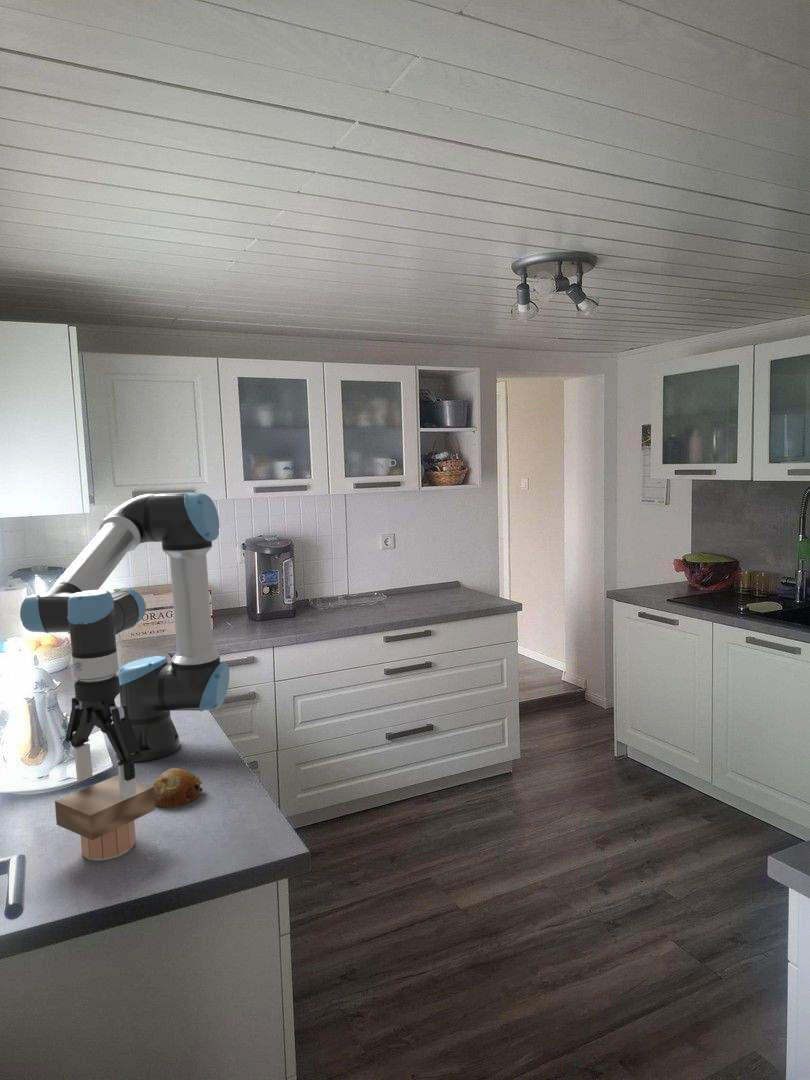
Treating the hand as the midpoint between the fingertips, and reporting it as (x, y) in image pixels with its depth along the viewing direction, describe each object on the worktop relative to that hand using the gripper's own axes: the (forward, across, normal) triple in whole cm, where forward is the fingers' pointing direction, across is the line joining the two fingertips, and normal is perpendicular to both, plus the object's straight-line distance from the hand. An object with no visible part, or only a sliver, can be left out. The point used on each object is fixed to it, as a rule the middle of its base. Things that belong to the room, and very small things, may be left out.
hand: (105, 787), depth 132 cm
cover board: (+6, 0, 0) cm, 6 cm away
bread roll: (+12, -6, +20) cm, 24 cm away
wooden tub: (+12, 0, -1) cm, 12 cm away
